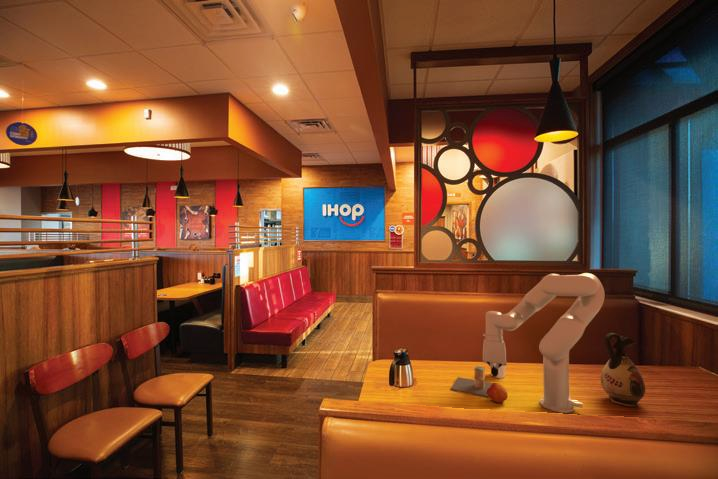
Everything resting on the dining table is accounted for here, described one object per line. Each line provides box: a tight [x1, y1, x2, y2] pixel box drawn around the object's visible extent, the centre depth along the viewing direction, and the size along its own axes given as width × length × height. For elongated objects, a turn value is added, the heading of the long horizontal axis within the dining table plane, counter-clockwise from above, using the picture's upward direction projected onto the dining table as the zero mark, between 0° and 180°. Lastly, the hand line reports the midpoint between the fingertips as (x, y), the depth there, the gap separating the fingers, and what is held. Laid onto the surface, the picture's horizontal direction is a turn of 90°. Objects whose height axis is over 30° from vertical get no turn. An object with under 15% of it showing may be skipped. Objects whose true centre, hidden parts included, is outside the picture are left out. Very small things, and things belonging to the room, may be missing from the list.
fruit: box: [487, 382, 508, 404], centre depth 148 cm, size 8×8×8 cm
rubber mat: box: [450, 376, 494, 399], centre depth 162 cm, size 18×16×1 cm
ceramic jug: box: [600, 332, 646, 408], centre depth 147 cm, size 17×15×30 cm
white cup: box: [489, 363, 506, 379], centre depth 176 cm, size 8×8×10 cm
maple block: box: [474, 365, 486, 389], centre depth 162 cm, size 4×4×9 cm
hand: (494, 376), depth 158 cm, fingers closed
